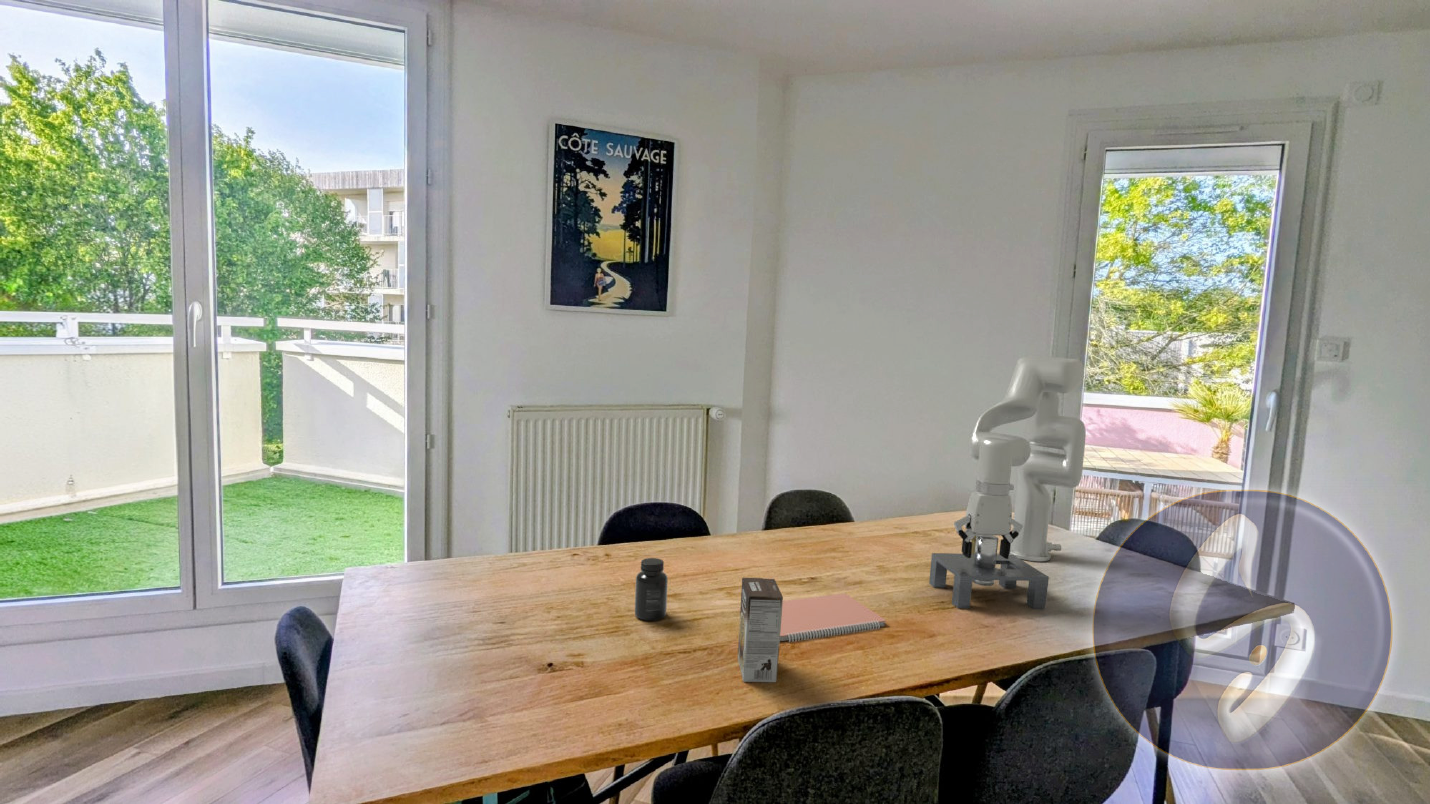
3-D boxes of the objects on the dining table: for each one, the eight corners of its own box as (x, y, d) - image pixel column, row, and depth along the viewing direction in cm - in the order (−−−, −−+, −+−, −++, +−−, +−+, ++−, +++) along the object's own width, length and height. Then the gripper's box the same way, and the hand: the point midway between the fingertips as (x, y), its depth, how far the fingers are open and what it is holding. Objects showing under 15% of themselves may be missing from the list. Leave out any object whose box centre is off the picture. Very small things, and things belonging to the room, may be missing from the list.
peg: (987, 578, 176) (991, 533, 175) (997, 585, 171) (1002, 540, 170) (968, 578, 175) (972, 533, 174) (978, 585, 170) (982, 539, 169)
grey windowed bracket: (1009, 584, 183) (1012, 554, 182) (1045, 609, 167) (1048, 576, 166) (929, 583, 180) (931, 553, 179) (957, 608, 164) (960, 575, 164)
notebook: (778, 647, 141) (779, 637, 140) (741, 613, 156) (742, 604, 156) (888, 630, 152) (889, 621, 151) (844, 600, 167) (845, 592, 167)
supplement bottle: (671, 612, 153) (673, 559, 152) (658, 624, 147) (661, 569, 145) (642, 606, 155) (644, 554, 154) (628, 618, 149) (631, 563, 147)
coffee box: (736, 658, 134) (741, 576, 132) (769, 658, 134) (775, 577, 133) (742, 682, 125) (747, 595, 123) (777, 683, 125) (783, 596, 124)
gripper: (1017, 486, 175) (1010, 552, 177) (951, 483, 173) (944, 551, 175) (1034, 493, 168) (1026, 562, 170) (965, 491, 166) (958, 561, 168)
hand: (985, 556), depth 172 cm, fingers open, 9 cm apart
